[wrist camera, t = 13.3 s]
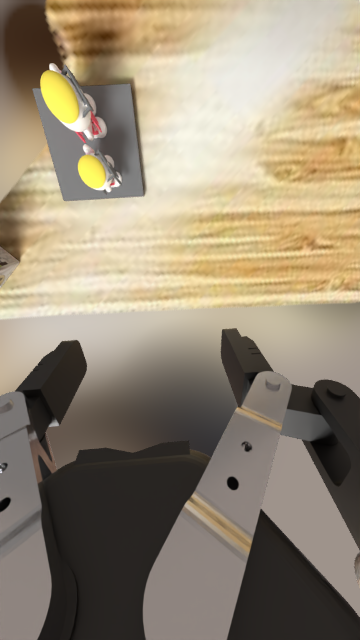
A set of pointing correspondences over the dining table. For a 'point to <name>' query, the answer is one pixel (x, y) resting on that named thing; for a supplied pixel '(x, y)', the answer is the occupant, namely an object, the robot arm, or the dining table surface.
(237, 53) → the dining table surface
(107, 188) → the toy figures
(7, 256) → the coffee box
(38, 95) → the mat
